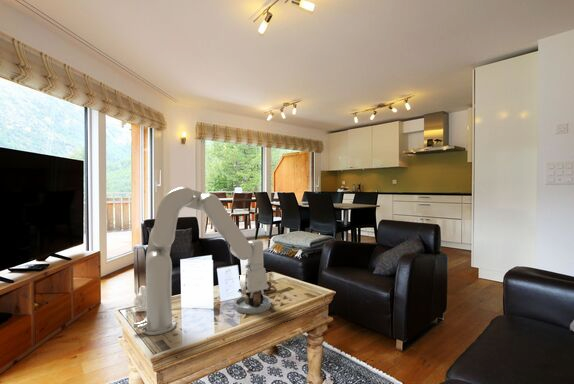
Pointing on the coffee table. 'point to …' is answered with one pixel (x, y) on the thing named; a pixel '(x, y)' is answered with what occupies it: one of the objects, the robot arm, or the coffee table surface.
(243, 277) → the mug
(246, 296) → the oak bead
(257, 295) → the walnut bead
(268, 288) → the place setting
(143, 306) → the koala figurine
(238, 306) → the dish
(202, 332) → the coffee table surface
